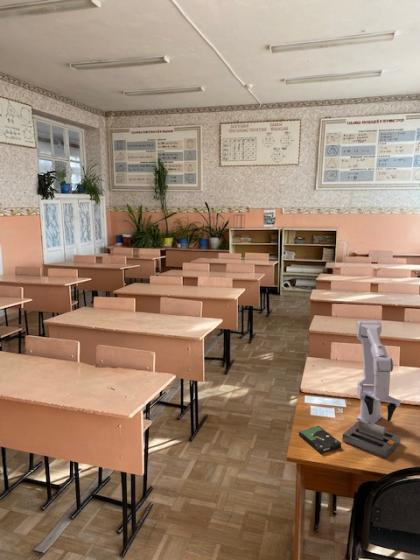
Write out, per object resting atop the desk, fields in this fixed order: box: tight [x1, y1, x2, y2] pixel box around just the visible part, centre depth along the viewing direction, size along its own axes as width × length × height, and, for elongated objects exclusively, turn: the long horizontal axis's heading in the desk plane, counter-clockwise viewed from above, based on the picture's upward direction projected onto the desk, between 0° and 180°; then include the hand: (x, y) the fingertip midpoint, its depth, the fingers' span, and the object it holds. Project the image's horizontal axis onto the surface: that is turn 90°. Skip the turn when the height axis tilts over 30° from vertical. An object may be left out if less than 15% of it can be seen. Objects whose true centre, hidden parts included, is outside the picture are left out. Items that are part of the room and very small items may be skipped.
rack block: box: [341, 421, 402, 459], centre depth 173 cm, size 14×18×3 cm
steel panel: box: [358, 419, 386, 442], centre depth 172 cm, size 2×10×7 cm, turn 46°
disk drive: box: [298, 425, 342, 455], centre depth 174 cm, size 10×3×15 cm
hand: (379, 417), depth 174 cm, fingers open, 7 cm apart
